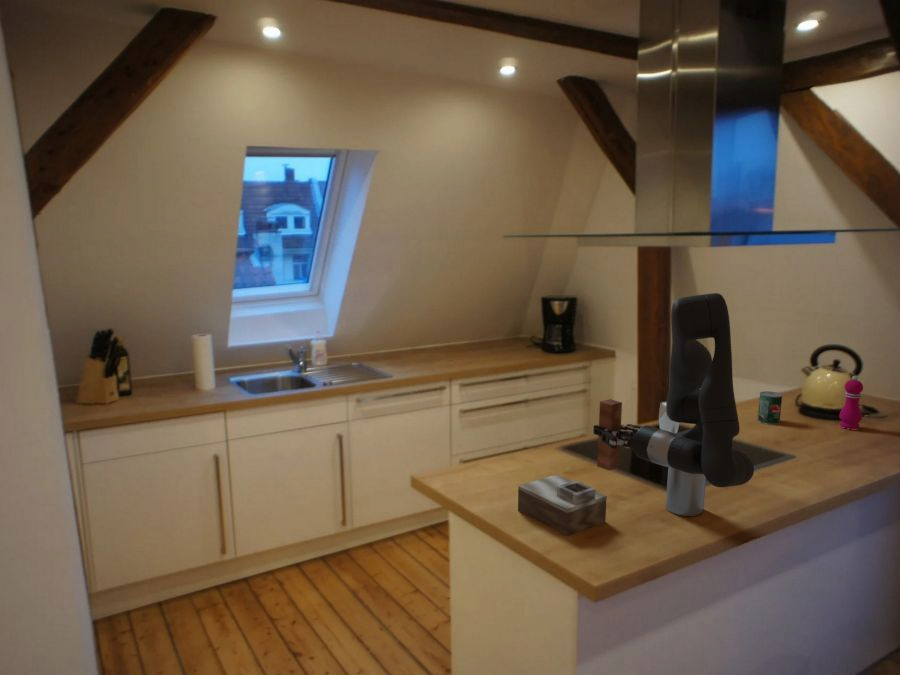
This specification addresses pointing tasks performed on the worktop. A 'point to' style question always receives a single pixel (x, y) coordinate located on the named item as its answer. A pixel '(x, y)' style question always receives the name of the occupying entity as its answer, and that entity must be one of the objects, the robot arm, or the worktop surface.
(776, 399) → the canned tomato
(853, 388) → the pepper mill
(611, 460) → the wooden key
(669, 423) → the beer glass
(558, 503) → the gray socket block
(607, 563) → the worktop surface
